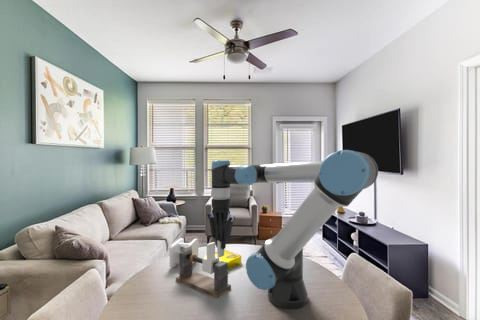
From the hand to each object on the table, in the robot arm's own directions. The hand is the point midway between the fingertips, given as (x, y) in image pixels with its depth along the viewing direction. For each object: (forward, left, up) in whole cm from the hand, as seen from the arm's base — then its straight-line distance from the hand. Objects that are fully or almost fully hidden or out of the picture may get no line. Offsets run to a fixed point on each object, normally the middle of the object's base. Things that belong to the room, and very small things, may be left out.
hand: (220, 256), depth 98 cm
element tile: (+17, -22, -15) cm, 32 cm away
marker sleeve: (+5, 0, -7) cm, 9 cm away
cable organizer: (+33, -10, -15) cm, 38 cm away
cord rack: (+10, 0, -15) cm, 18 cm away
